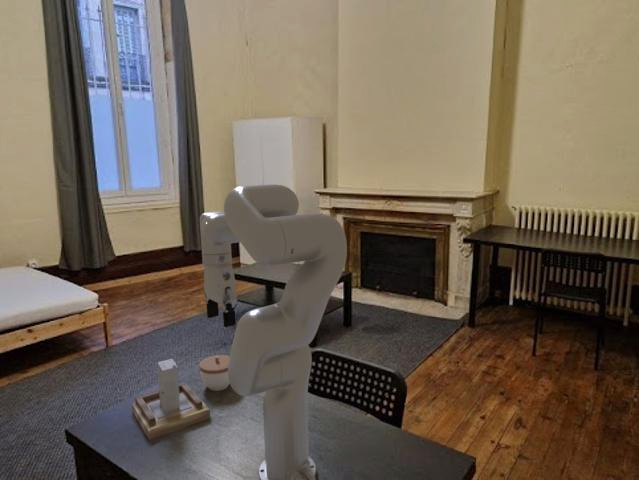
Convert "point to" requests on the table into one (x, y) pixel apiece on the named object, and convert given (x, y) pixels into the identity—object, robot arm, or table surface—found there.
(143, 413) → the frame
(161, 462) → the table surface
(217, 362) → the lidded jar
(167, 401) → the skincare box
